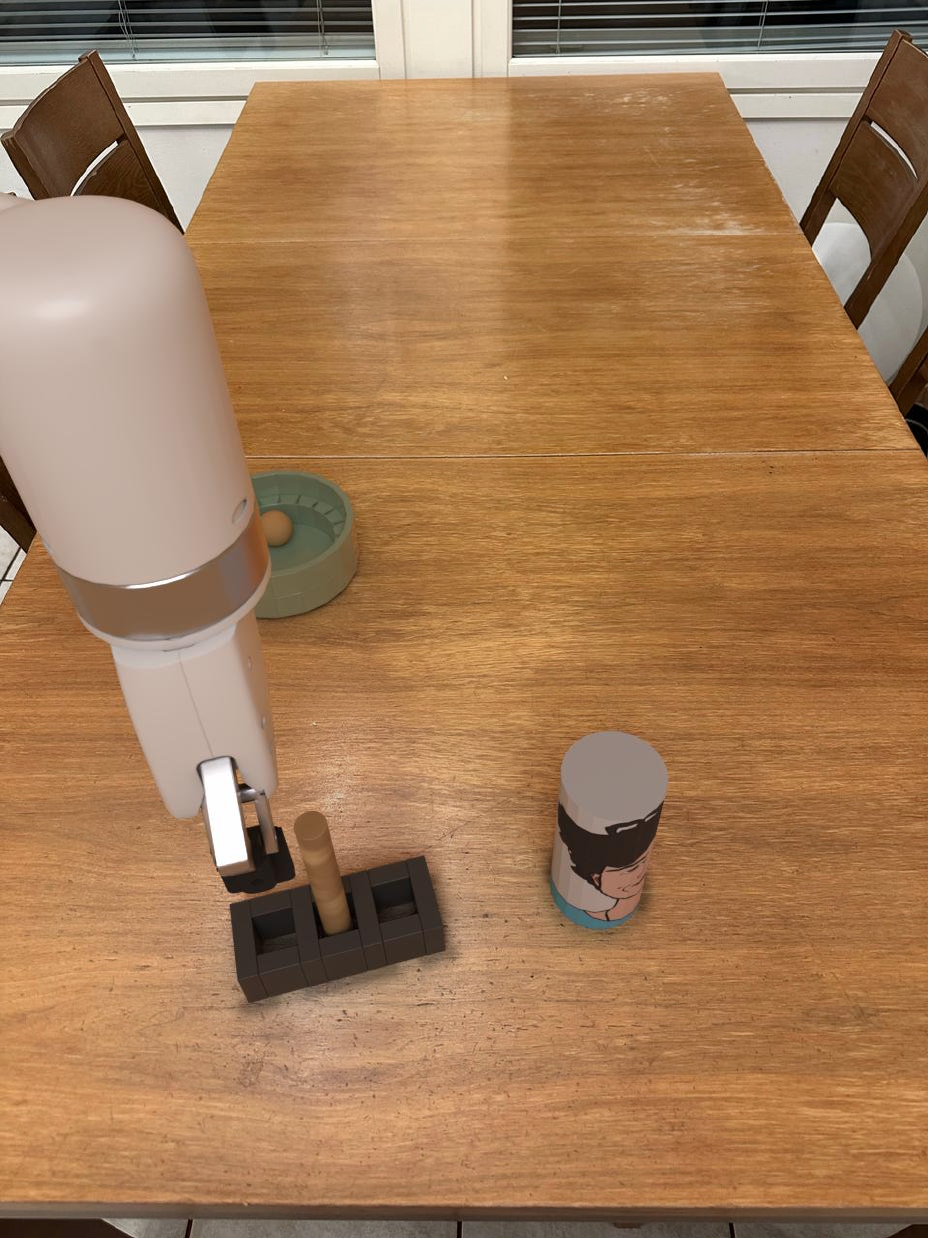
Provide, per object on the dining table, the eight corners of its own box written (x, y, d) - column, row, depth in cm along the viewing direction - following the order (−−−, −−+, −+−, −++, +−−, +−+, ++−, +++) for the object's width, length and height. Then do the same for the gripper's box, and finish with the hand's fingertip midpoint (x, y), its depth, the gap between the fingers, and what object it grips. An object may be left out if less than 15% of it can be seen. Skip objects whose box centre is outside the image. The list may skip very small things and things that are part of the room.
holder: (248, 1003, 65) (237, 980, 62) (240, 929, 69) (229, 903, 66) (445, 951, 67) (443, 926, 64) (427, 881, 71) (424, 854, 68)
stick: (330, 956, 67) (296, 843, 56) (325, 930, 69) (291, 815, 57) (358, 949, 68) (329, 835, 56) (352, 923, 69) (324, 807, 57)
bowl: (211, 636, 88) (196, 591, 84) (199, 530, 98) (185, 485, 94) (373, 603, 91) (366, 558, 86) (345, 503, 101) (338, 458, 96)
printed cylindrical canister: (600, 948, 67) (621, 842, 56) (531, 886, 71) (538, 774, 60) (659, 886, 70) (690, 774, 59) (590, 829, 74) (607, 713, 63)
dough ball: (262, 556, 95) (255, 529, 92) (258, 533, 97) (251, 506, 94) (297, 549, 95) (292, 522, 93) (292, 526, 98) (287, 499, 95)
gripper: (68, 435, 41) (170, 684, 53) (52, 758, 29) (187, 978, 42) (243, 406, 42) (302, 657, 54) (293, 706, 30) (354, 935, 43)
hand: (252, 796), depth 48 cm, fingers open, 9 cm apart
